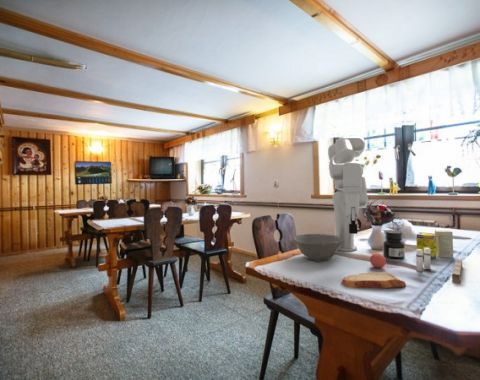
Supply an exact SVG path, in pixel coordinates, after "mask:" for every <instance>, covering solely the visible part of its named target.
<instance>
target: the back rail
mask: <svg viewBox="0 0 480 380" xmlns="http://www.w3.org/2000/svg"><path fill="white" fill-rule="evenodd" d="M453 265H454V266H453V269H452V274H451V278H452V281H451V282H452V283H453V284H454V283H456V284H461V283H460V282H461V277H462V270H463V269H462V268H463V259H460V258H455V260H454V264H453Z"/></svg>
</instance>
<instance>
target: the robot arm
mask: <svg viewBox="0 0 480 380" xmlns="http://www.w3.org/2000/svg"><path fill="white" fill-rule="evenodd" d="M365 147H366V143H365V140H364V138H363V137H362V136H360V135H358V136H357V135H355V136H354V135H353V136H342V137H339V138H337V140H335V143H333V144H331V145H329V147H328V148H327V149H328V150H327V152H328V153H327V155H328V158H329V162H328V163H329V164H328V170H329V176H330V178H331V179H332V180H334V181H333V182H334V188H335V189H336V190H338V191H335V192H334V193H333V194H332V203H333V210H334V211H333V212H334V236H338V237H340V238H343V241H342V243H341V244H340V246H339V247H338V249H337V251H340V252H341V251H342V252H354V251H357V250H358V246H357V245H355V239H354V237H355V235H357V234H358V222H357V221H358V220H357V219H358V218H359V216H360V209H364V208H365V209H366V207H367V206H368V204H369V203H368V201H369V198H368V190H367V184H366V178H365V176H364V168H363V166H362V164H361V162H359V161H354V159H355V158H359V157H360V156H361V155H362V154H363V153H364V150H365Z"/></svg>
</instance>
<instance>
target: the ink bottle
mask: <svg viewBox="0 0 480 380" xmlns="http://www.w3.org/2000/svg"><path fill="white" fill-rule="evenodd" d="M402 233H403V232H402V231H400V230H399V231H397V230H386V231H385V241H383V242H382V250H383V252H382V253H383V254H382V255H383V256H384V257H385V258H386V259H387V258H388V259H392V258H394V260H402V259H405V254H406V253H405V249H406V247H405V243H404V242H403V241H402V240H403V234H402Z"/></svg>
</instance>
